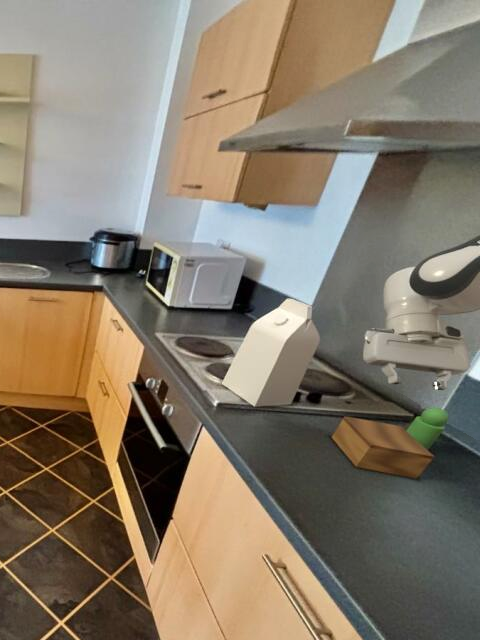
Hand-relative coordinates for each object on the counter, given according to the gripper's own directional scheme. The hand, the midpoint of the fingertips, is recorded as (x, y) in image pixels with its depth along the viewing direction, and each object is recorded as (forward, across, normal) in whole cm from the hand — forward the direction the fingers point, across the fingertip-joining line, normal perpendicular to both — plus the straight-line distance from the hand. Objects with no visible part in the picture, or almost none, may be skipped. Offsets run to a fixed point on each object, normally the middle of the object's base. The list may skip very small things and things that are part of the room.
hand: (417, 386), depth 97 cm
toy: (+14, 0, +3) cm, 14 cm away
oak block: (+19, -13, -2) cm, 23 cm away
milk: (+2, -28, +15) cm, 31 cm away
